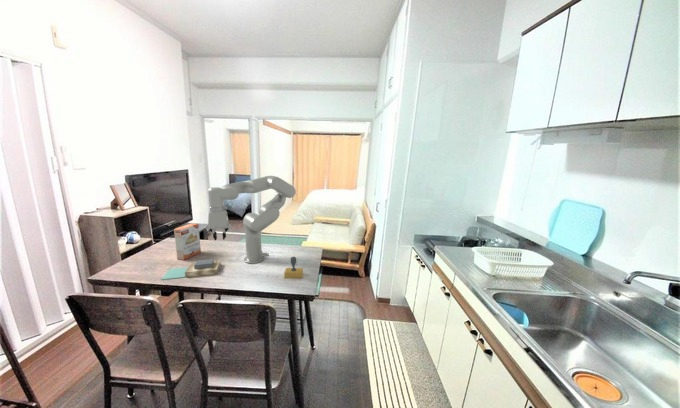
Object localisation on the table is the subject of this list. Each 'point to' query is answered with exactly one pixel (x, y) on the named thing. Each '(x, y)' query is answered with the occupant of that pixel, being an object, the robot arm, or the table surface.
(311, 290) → the table surface
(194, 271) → the deck
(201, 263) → the blue-grey flat block
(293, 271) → the rubber stamp
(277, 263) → the table surface
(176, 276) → the mat
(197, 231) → the cracker box
